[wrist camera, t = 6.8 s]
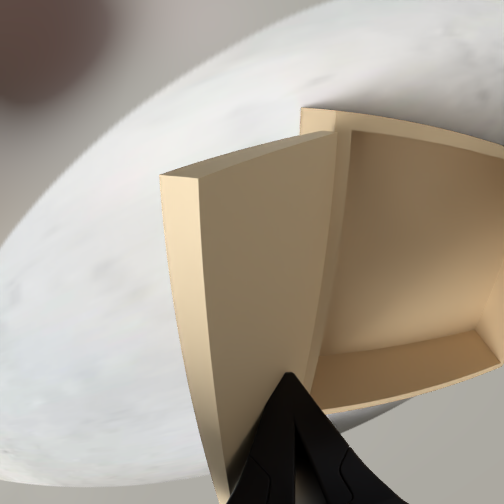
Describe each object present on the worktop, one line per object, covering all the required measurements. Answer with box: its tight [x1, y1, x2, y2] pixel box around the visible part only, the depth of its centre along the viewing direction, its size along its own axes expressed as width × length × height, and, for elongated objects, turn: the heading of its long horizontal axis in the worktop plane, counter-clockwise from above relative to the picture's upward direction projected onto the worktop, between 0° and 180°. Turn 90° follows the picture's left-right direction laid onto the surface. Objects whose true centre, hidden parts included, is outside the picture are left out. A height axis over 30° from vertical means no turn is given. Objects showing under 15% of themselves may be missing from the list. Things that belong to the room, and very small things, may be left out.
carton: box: [300, 108, 504, 414], centre depth 15 cm, size 16×18×5 cm
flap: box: [159, 130, 338, 504], centre depth 9 cm, size 15×8×1 cm
